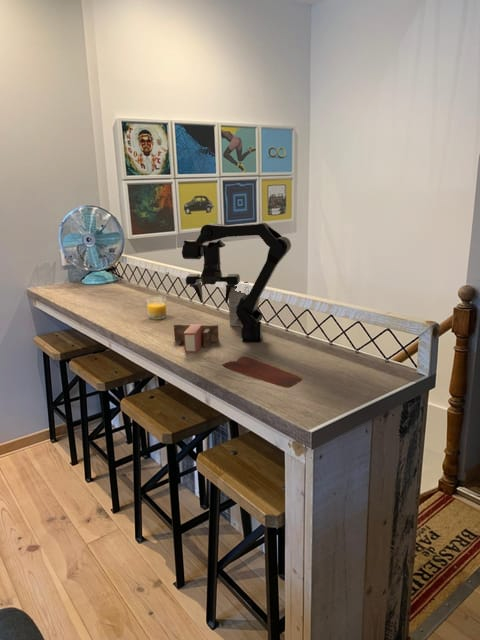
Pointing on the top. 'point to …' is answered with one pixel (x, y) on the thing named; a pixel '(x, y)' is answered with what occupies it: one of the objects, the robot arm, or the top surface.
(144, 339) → the top surface
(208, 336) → the wooden display stand
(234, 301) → the coffee box
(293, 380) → the wooden tablet
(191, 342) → the block
